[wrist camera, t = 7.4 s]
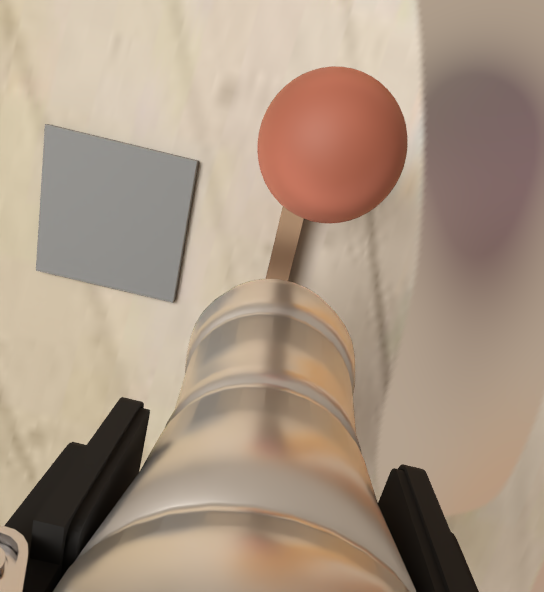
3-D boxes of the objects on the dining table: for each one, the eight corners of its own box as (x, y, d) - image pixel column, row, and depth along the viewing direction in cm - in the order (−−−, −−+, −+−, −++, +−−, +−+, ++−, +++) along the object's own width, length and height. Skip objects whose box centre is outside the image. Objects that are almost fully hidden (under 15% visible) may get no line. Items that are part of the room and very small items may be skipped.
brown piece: (274, 371, 37) (238, 727, 14) (234, 362, 37) (134, 705, 14) (337, 130, 31) (451, 76, 8) (290, 119, 31) (272, 31, 8)
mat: (174, 300, 36) (172, 302, 35) (40, 268, 36) (35, 270, 35) (198, 160, 32) (197, 160, 32) (49, 124, 32) (45, 124, 32)
